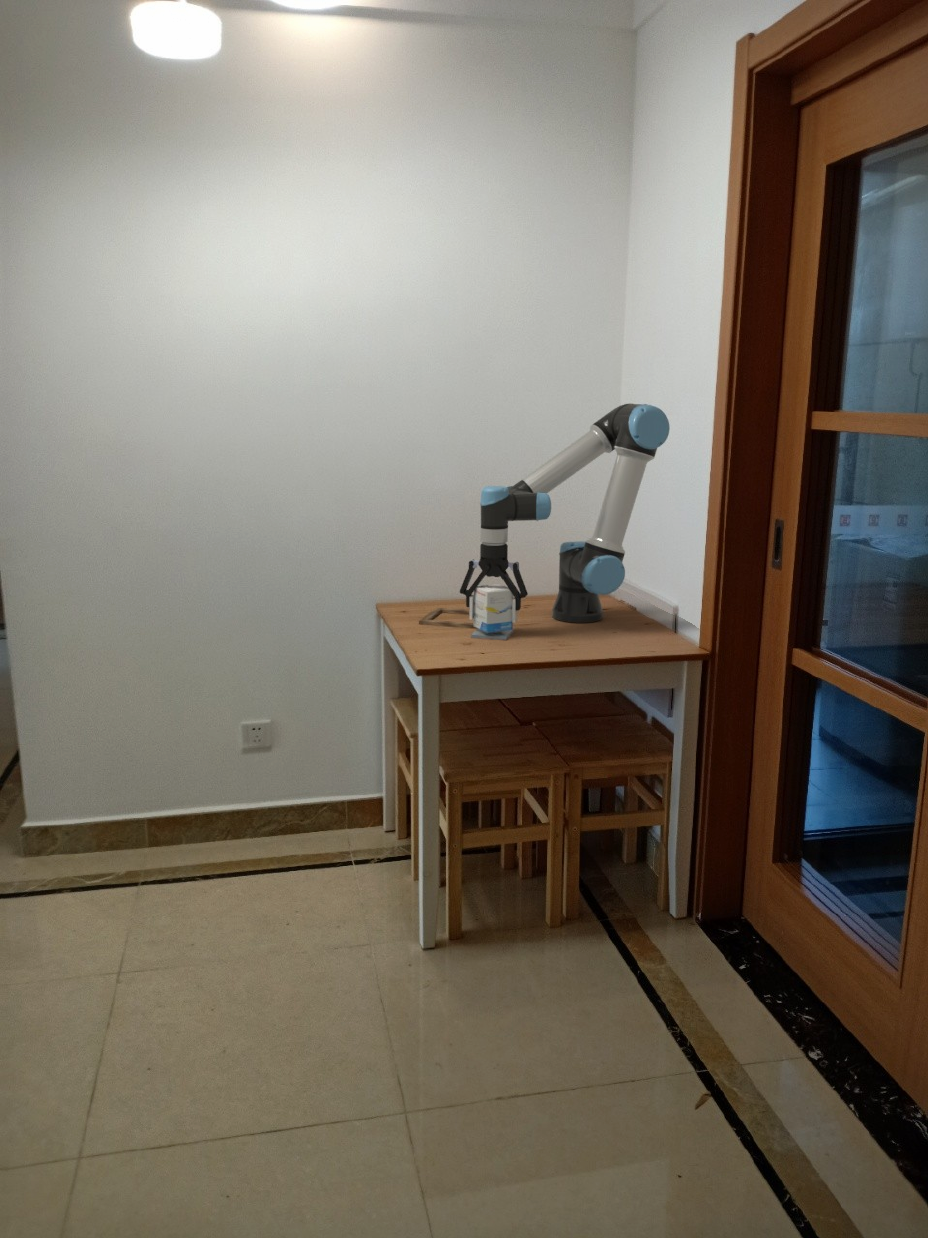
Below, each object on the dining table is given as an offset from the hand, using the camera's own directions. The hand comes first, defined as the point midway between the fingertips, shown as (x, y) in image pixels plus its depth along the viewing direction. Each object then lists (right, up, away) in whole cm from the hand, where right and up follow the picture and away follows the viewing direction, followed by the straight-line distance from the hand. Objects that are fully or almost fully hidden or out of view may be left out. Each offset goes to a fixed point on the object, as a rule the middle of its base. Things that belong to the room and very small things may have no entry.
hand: (493, 620), depth 283 cm
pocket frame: (-10, 0, +18) cm, 21 cm away
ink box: (0, -2, +1) cm, 2 cm away
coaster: (0, -4, +1) cm, 4 cm away
